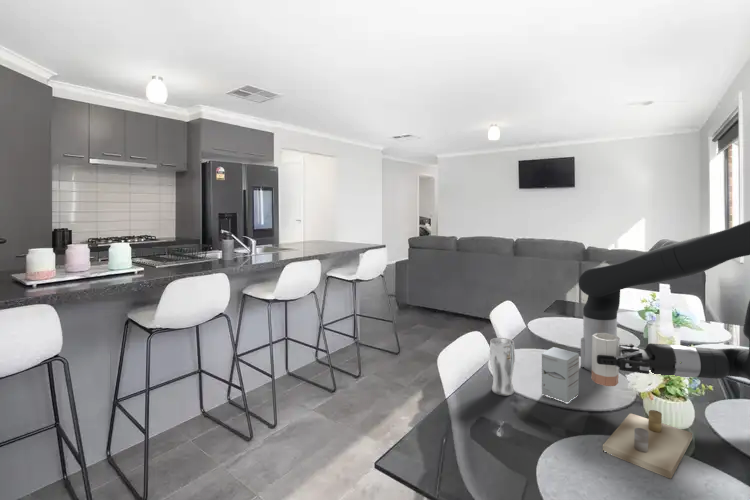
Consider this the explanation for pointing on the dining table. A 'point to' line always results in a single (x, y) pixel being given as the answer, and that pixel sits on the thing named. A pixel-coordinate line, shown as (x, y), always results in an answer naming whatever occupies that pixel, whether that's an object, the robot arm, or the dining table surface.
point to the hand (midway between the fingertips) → (594, 354)
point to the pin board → (649, 443)
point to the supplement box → (560, 374)
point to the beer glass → (502, 365)
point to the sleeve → (605, 346)
